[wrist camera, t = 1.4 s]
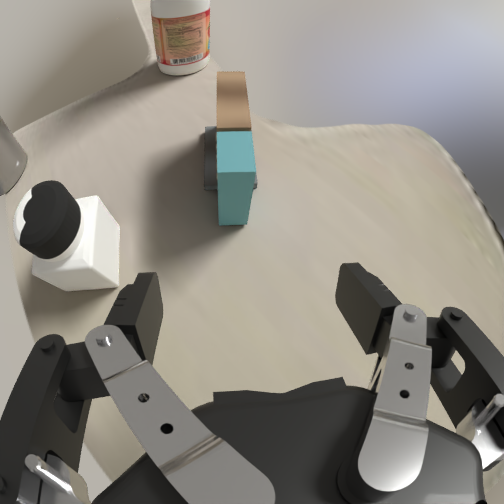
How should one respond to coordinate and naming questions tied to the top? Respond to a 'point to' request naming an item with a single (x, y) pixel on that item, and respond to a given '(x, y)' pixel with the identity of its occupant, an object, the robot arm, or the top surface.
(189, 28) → the fruit juice
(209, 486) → the robot arm
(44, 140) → the top surface
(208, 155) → the brown block
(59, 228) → the medicine bottle
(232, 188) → the teal block
